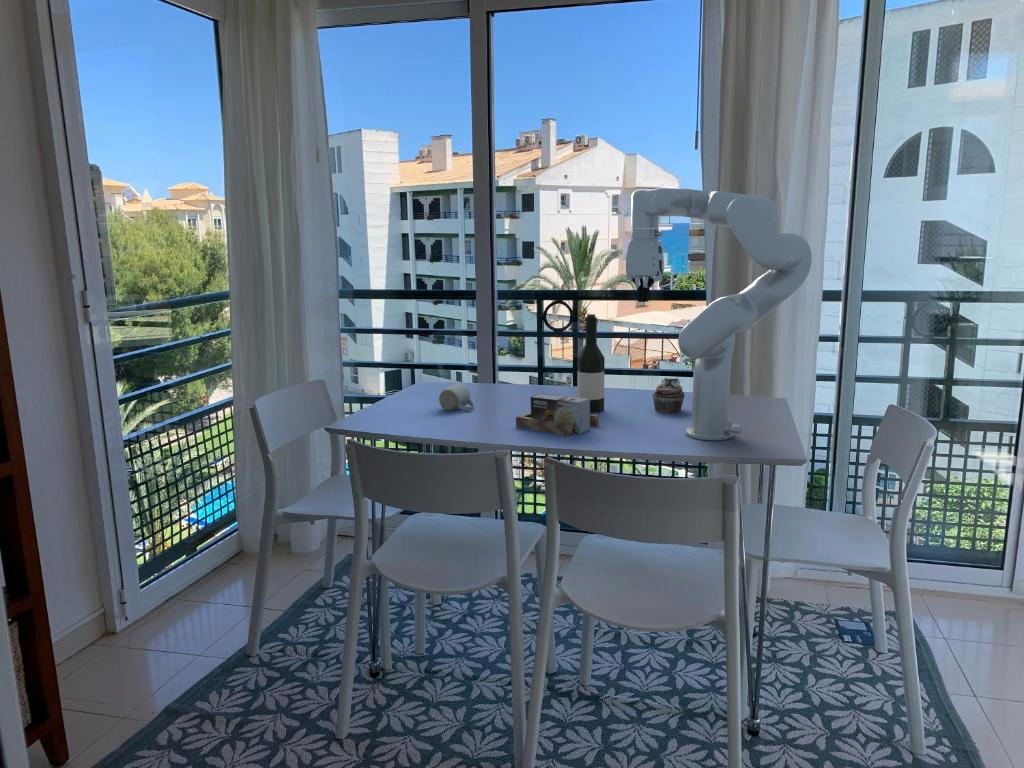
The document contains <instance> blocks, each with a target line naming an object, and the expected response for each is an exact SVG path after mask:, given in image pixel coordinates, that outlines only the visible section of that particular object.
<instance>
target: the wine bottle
mask: <svg viewBox="0 0 1024 768" xmlns="http://www.w3.org/2000/svg"><path fill="white" fill-rule="evenodd" d="M597 320H598V316H596V313H588V314H586V317H585V344H584V346H583V347H582V349H581V351H580V352H579V354H578V356H577V369H576V370H577V376H576V377H577V379H576V380H577V385H576V387H577V392H576V393H577V396H576V398H584V399H590V414H595V413H597V414H599V413H601V412H604V411H605V356H604V355H603V353H602V351H601V350H600V348H599V346H598V344H597V339H598V338H597V337H598V336H597V332H598V331H597V330H598V329H597V328H598V325H597V323H598V322H597Z"/></svg>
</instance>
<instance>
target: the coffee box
mask: <svg viewBox="0 0 1024 768" xmlns="http://www.w3.org/2000/svg"><path fill="white" fill-rule="evenodd" d="M530 412H531V418H535V419H541V420H546V421H552V422H558V423H564V424H569V425H572V434H579V435H580V434H582V433H585V432H587V431H589V430H590V429H591V425H590V414H591V413H590V399H584V398H577V396H576V397H574V396H566V395H557V394H549V393H543V392H542V393H538V394H534V395H532V396H531V397H530Z"/></svg>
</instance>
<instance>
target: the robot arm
mask: <svg viewBox="0 0 1024 768" xmlns="http://www.w3.org/2000/svg"><path fill="white" fill-rule="evenodd" d="M630 203H631V210H630V211H631V213H630V214H631V215H630V216H631V217H630V240H629V241H628V245H627V249H626V256H625V274H626V277H625V279H626V281H630V282H633V283H634V285H635V287H636V289H637V299H638V300H637V301H638V303H647V302H649V300H650V298H651V297H650V294H651V293H650V289H651V287H652V286H653V285H654V284H655V282H656V283H657V282H661V281H662V280H663V275H664V273H665V261H664V258H665V257H664V250H663V249H664V248H663V243H662V240H659V238H660V237H662V236H663V231H662V230H660V228H659V224H660V217H682V218H684V217H685V218H691V219H699V220H705V221H707V222H708V223H709V224H710V225H712V226H717V227H723V228H730V230H731V231H732V233H733V235H734V236H735V237H736V239H737V240H738V242H739V244H740V245H741V246H742V249H744V250H745V252H746V253H747V255H748V256H749V258H750V259H751V260H752V262H753V263H754V264H756V265H757V267H759V268H760V269H764V270H767V271H766V272H764V273H763V274H762V275H760V276H759V277H757V278H756V279H755V280H754V281H753V282H752V283H751V284H750V285H748V286H747V287H746V288H744V289H743V290H741V291H740V292H738V293H736V294H731V295H725V296H721V297H718V298H717V299H715V300H714V301H712V302H711V303H709V304H708V305H707V306H705V308H703V309H702V310H701V311H700V312H699V313H698V314H696V316H694V317H693V318H692V319H691V320H689V321H688V322H687V323H686V324H685V325H684V326H683V327H682V328H681V330H680V332H679V334H678V338H677V345H678V349H679V351H680V352H681V353H682V355H684V356H686V357H687V358H689V359H694V360H695V361H694V366H693V377H692V379H693V380H692V407H691V408H692V410H691V412H692V413H691V425H690V426H688V427H687V428H686V429H685V435H687V436H689V437H690V438H692V439H697V440H703V441H724V440H729V439H732V438H733V437H734V436H735V434H736V435H741V434H742V433H743V427H742V425H740V424H734V423H733V418H729V412H730V411H729V409H730V389H731V388H730V385H731V369H732V360H733V353H734V349H735V343H736V334H737V333H743V332H745V331H748V330H751V329H752V328H754V326H756V325H757V324H758V323H760V322H761V321H762V320H763V319H765V317H767V316H768V315H769V314H771V313H772V312H773V311H774V310H775V309H776V308H777V307H779V306H780V305H781V304H782V303H784V302H785V301H786V300H787V299H788V298H790V297H791V296H792V295H793V294H794V293H795V292H797V291H798V289H799V288H800V287H802V285H803V284H804V282H805V281H806V279H807V278H808V276H809V274H810V271H811V268H812V261H813V259H812V256H813V255H812V250H811V246H810V244H809V242H808V241H807V240H806V239H805V238H804V237H802V236H801V235H799V234H796V233H789V232H784V233H783V232H782V233H781V232H780V233H778V232H777V230H776V229H775V227H774V226H773V225H774V223H775V221H776V219H777V217H778V208H777V205H776V204H775V202H774V201H773V200H771V199H770V198H768V197H765V196H761V195H752V194H747V193H746V194H743V193H738V192H737V193H736V192H727V191H721V190H720V191H718V190H716V191H709V190H708V191H707V190H702V189H701V190H700V189H690V188H682V187H666V186H665V187H663V186H662V187H659V188H654V189H637V190H634V191H633V192H632V193H631V201H630Z"/></svg>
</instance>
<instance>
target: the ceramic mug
mask: <svg viewBox="0 0 1024 768" xmlns="http://www.w3.org/2000/svg"><path fill="white" fill-rule="evenodd" d="M439 394H440V395H439V397H438V401H439V405H440V406H441V407H442V408H443V409H444V410H446V411H448V410H452V411H456V410H458V409H459V410H462V411H465V412H468V411H467V410H472V409H473V410H474V408H475V402H474V401H473V400H472V399H471V392H470V390H469V389H468V387H467V386H466V385H465V384H462V383H458V382H456V383H454V384H452V385H450V386H448V387H445V389H444V390H442V391H441V392H440V393H439ZM467 405H469V406H467ZM455 409H456V410H455ZM473 410H472V411H473Z"/></svg>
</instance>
